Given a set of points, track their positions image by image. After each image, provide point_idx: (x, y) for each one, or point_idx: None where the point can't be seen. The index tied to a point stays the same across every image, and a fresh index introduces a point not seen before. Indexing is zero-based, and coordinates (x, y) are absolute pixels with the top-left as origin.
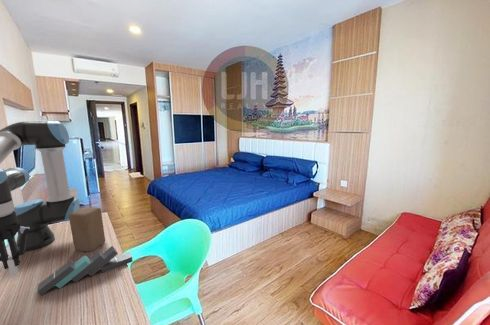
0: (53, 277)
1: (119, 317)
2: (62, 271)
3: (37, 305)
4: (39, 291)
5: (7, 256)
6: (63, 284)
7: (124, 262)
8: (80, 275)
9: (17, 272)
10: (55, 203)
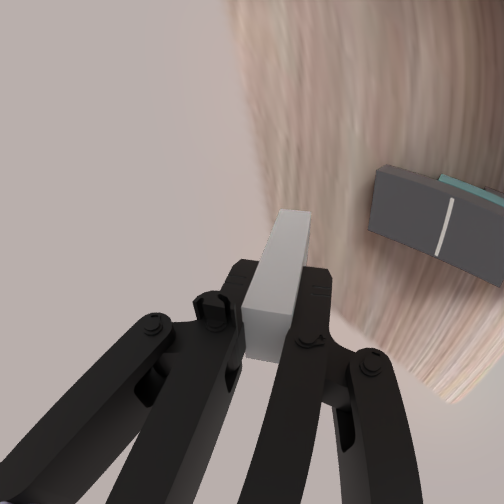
0: (436, 242)
1: (443, 392)
2: (471, 268)
3: (358, 266)
4: (375, 230)
5: (233, 346)
6: None
7: None
8: None
9: (308, 238)
10: None
